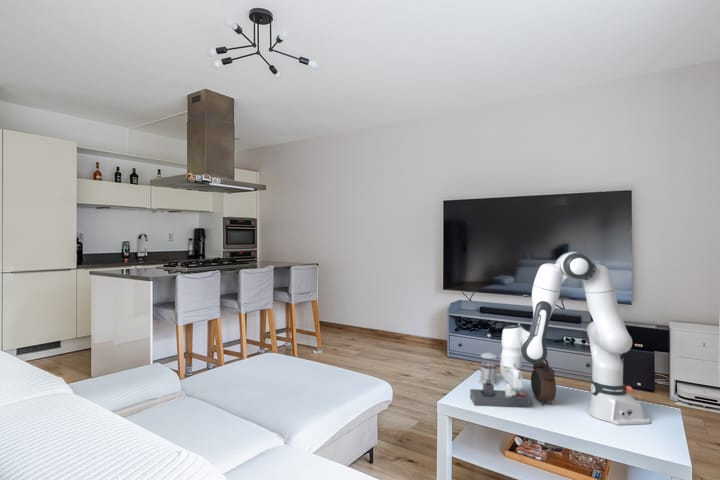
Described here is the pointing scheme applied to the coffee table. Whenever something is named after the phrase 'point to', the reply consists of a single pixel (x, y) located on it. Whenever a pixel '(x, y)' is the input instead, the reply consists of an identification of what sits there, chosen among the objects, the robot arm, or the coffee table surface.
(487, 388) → the twin plug
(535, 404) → the coffee table surface
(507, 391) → the white rectangular bottle
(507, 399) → the strip
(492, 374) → the french press
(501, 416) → the coffee table surface
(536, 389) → the alarm clock
